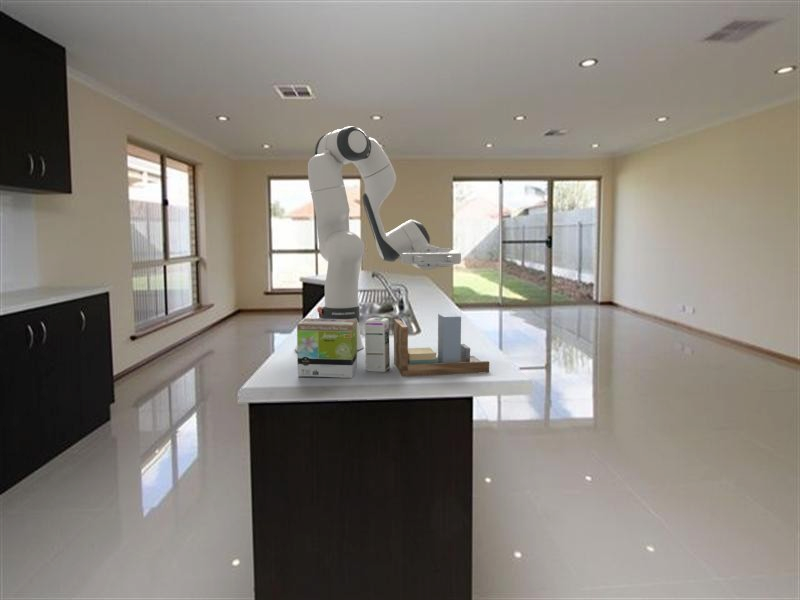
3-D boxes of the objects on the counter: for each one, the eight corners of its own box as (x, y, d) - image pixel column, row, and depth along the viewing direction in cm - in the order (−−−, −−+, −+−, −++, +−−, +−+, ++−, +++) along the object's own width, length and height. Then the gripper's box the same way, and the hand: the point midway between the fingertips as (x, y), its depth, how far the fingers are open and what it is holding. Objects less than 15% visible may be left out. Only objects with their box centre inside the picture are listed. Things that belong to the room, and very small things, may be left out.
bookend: (459, 360, 156) (459, 343, 155) (477, 360, 157) (477, 343, 156) (465, 365, 150) (466, 348, 149) (484, 364, 151) (484, 347, 150)
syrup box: (385, 372, 149) (385, 320, 147) (365, 371, 150) (364, 320, 148) (390, 367, 154) (389, 317, 153) (370, 366, 156) (369, 317, 154)
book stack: (403, 361, 155) (403, 347, 155) (430, 360, 156) (430, 346, 156) (409, 368, 147) (409, 354, 147) (437, 367, 148) (437, 352, 148)
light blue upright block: (443, 366, 149) (443, 317, 147) (437, 361, 155) (438, 313, 153) (460, 366, 150) (461, 316, 148) (454, 361, 155) (455, 313, 154)
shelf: (393, 364, 158) (393, 318, 156) (473, 360, 162) (474, 316, 161) (402, 376, 144) (402, 327, 143) (489, 372, 149) (490, 324, 147)
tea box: (297, 378, 143) (295, 323, 141) (305, 368, 153) (304, 317, 151) (353, 378, 142) (352, 323, 141) (357, 369, 152) (357, 317, 151)
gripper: (396, 248, 184) (404, 249, 171) (454, 248, 188) (466, 249, 174) (397, 266, 185) (404, 269, 171) (454, 266, 189) (465, 268, 175)
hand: (436, 259), depth 173 cm, fingers open, 8 cm apart
